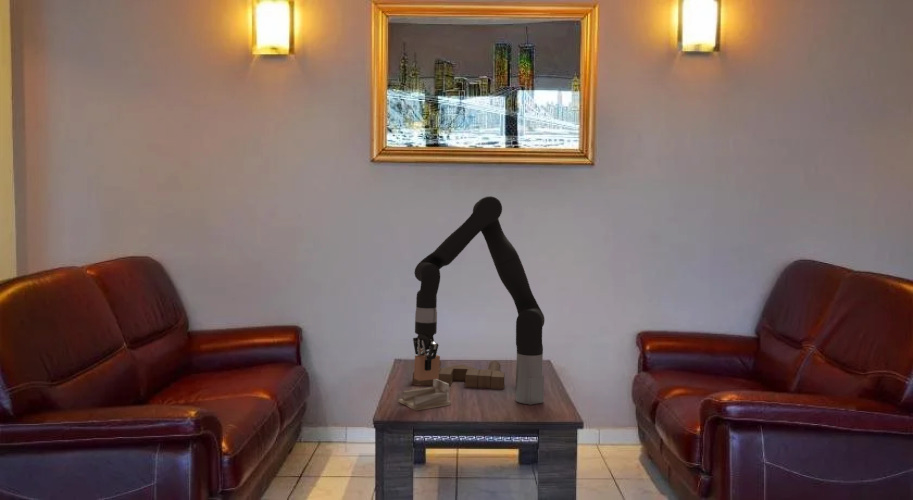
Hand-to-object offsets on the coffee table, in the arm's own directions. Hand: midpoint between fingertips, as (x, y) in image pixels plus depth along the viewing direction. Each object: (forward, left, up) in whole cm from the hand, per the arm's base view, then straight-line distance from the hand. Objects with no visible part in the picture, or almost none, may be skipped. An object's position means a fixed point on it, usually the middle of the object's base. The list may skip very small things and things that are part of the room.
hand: (424, 368), depth 241 cm
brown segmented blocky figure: (+24, -32, -13) cm, 42 cm away
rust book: (0, -1, -4) cm, 4 cm away
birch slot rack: (0, 0, -12) cm, 12 cm away
